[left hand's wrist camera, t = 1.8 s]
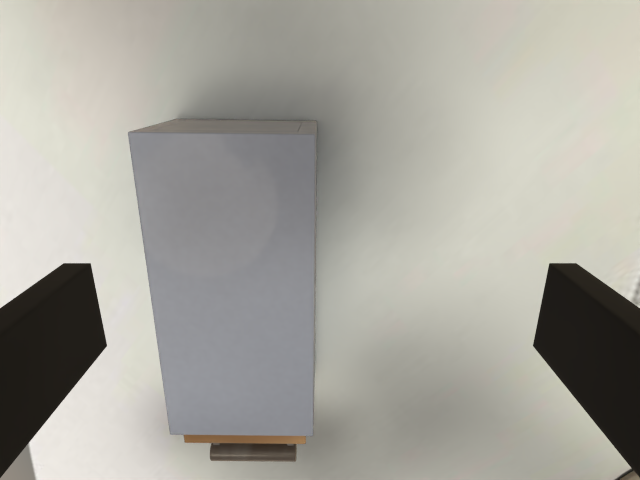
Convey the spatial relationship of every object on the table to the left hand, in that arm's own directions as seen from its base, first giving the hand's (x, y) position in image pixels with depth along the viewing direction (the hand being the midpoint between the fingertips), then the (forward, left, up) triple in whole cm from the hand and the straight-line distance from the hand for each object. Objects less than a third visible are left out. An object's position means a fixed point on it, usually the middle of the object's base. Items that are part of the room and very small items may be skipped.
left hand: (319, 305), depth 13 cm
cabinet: (+8, -5, -22) cm, 24 cm away
